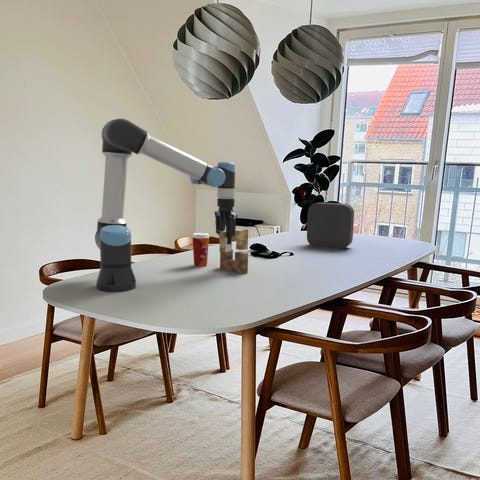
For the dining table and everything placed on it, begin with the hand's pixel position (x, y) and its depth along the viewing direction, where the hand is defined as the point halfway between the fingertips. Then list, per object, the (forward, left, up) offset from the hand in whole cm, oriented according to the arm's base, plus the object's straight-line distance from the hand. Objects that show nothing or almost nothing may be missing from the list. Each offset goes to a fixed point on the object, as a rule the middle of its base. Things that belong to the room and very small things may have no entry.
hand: (225, 250), depth 238 cm
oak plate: (+5, 0, 0) cm, 5 cm away
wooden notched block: (+5, 0, -10) cm, 11 cm away
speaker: (+88, +15, -10) cm, 90 cm away
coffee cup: (-1, +17, -10) cm, 20 cm away
